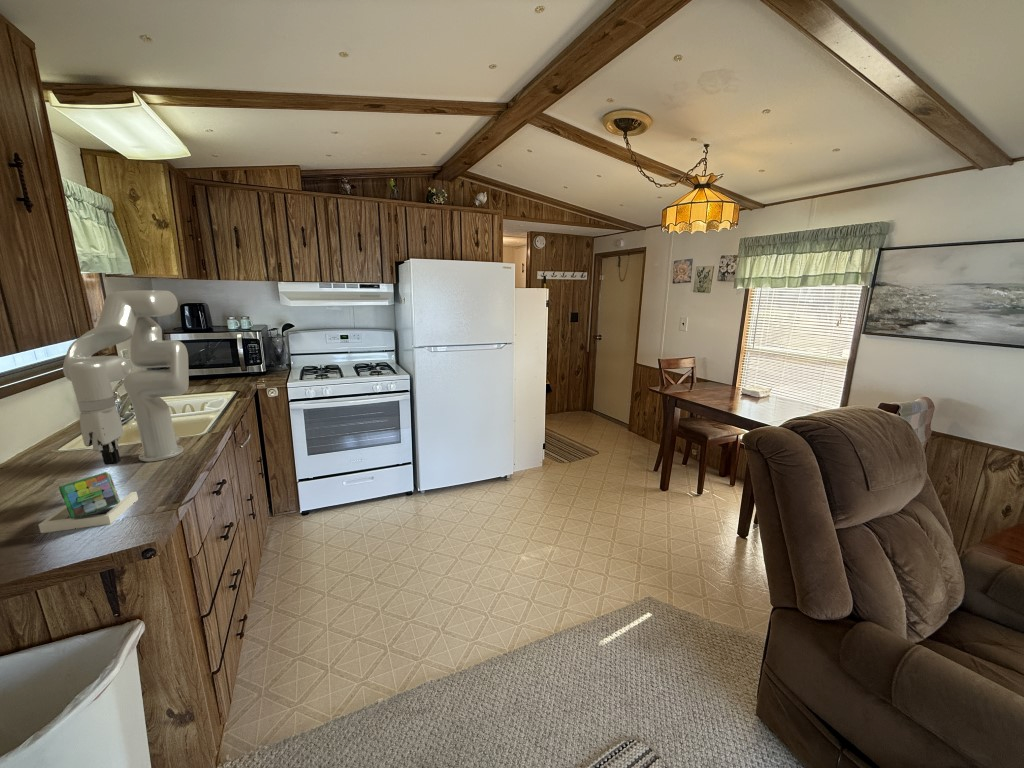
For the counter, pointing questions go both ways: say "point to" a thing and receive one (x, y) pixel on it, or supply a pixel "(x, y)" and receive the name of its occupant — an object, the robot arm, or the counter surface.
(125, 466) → the counter surface
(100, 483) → the chalk box
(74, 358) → the robot arm
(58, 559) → the counter surface
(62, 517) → the cream u-shaped bracket
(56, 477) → the counter surface
